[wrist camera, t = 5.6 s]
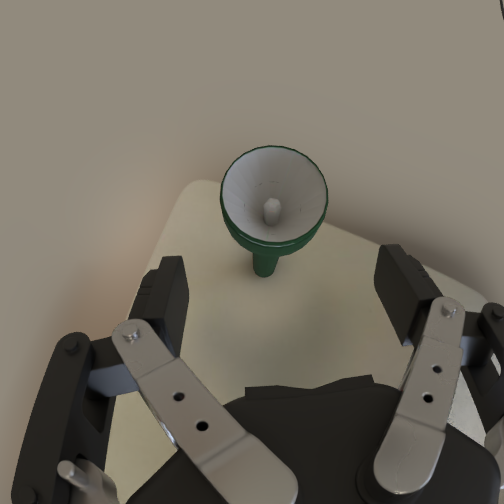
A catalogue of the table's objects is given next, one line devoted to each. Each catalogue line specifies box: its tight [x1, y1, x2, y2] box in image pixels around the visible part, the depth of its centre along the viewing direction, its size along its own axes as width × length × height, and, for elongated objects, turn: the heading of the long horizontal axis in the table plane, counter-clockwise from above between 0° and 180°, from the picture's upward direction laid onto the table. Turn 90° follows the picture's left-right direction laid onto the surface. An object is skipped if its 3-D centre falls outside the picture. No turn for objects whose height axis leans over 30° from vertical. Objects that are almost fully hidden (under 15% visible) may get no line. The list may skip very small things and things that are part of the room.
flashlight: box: [220, 145, 328, 277], centre depth 24 cm, size 5×5×20 cm
